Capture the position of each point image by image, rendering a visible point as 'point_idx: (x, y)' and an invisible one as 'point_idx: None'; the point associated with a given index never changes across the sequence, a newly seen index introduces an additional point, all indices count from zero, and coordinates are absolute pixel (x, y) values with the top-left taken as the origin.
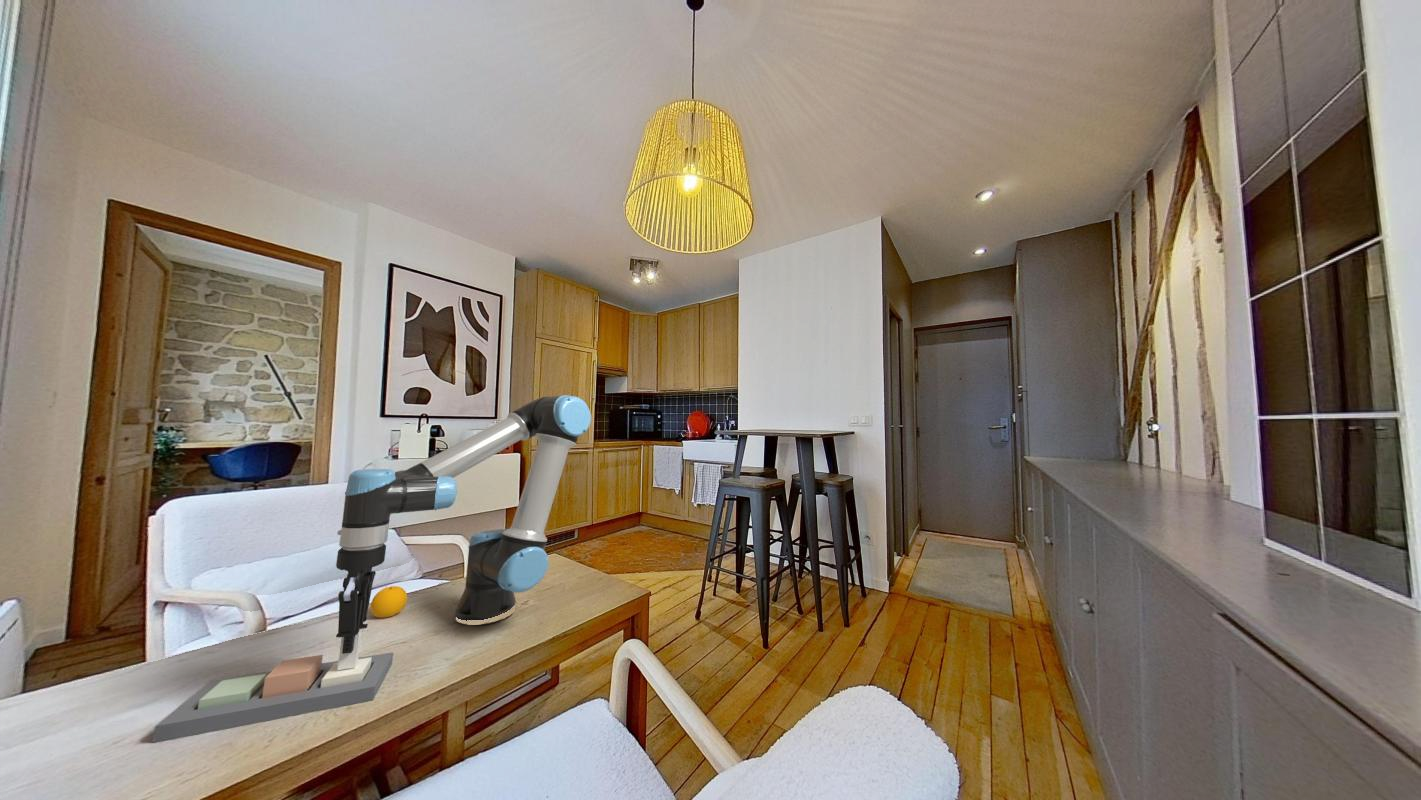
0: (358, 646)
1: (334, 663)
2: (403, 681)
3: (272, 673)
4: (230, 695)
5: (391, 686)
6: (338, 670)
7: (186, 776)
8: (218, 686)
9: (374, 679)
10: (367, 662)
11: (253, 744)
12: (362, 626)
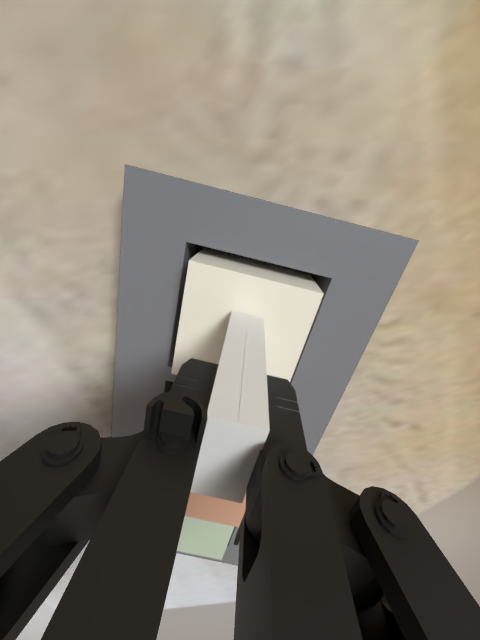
0: (247, 359)
1: (173, 373)
2: (327, 126)
3: (225, 519)
4: (232, 530)
5: (335, 174)
6: None
7: (408, 499)
8: None
9: (356, 241)
10: (234, 275)
11: (385, 444)
12: (196, 438)
